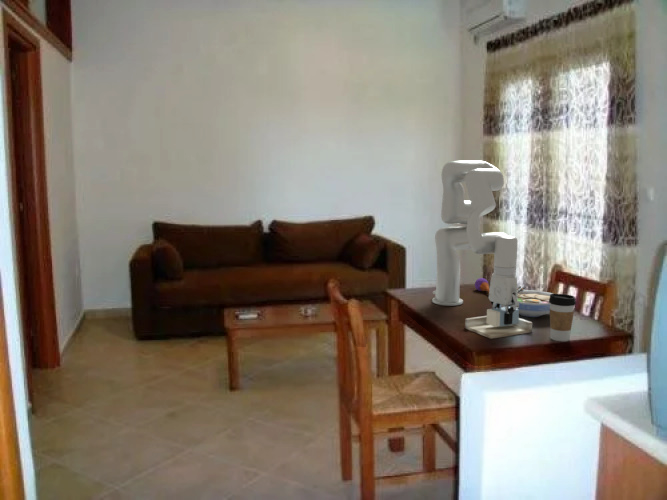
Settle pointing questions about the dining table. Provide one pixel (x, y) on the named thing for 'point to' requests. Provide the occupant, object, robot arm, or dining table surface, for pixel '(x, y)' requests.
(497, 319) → the light blue white block
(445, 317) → the dining table surface
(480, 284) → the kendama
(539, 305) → the ramen bowl
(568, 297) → the coffee cup
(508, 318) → the robot arm
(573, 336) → the dining table surface
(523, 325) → the beige tray
